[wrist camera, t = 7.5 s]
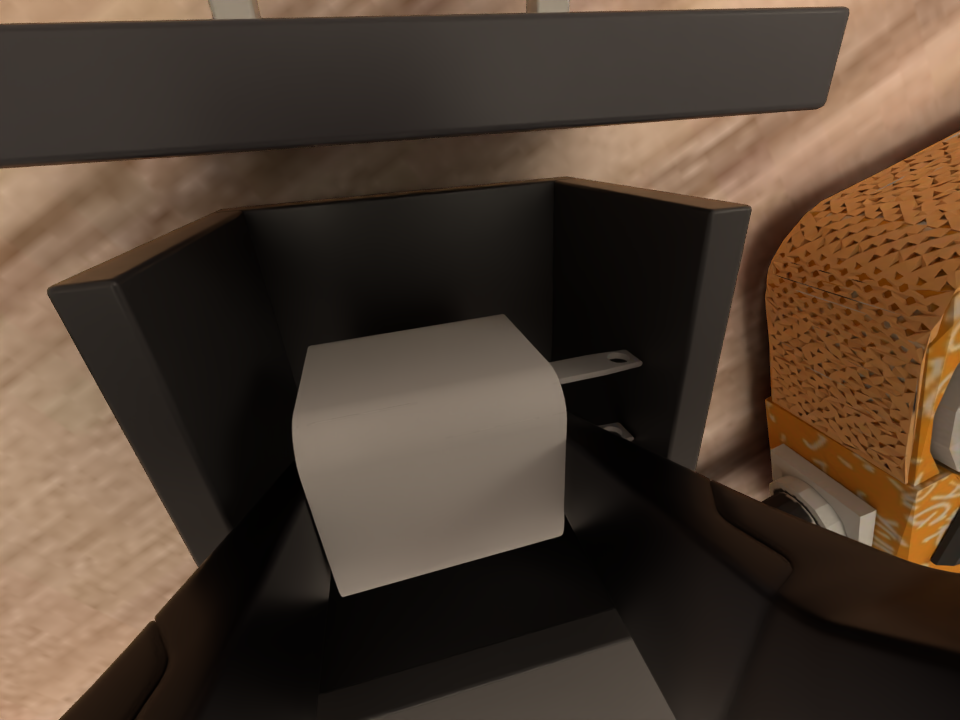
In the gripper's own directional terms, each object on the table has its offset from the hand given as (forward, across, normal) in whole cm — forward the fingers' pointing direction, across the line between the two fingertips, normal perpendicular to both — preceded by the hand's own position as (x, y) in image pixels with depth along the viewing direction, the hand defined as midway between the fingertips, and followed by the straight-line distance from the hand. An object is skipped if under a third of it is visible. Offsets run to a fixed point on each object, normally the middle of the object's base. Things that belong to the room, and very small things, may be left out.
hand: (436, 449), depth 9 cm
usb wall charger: (+3, -1, 0) cm, 3 cm away
